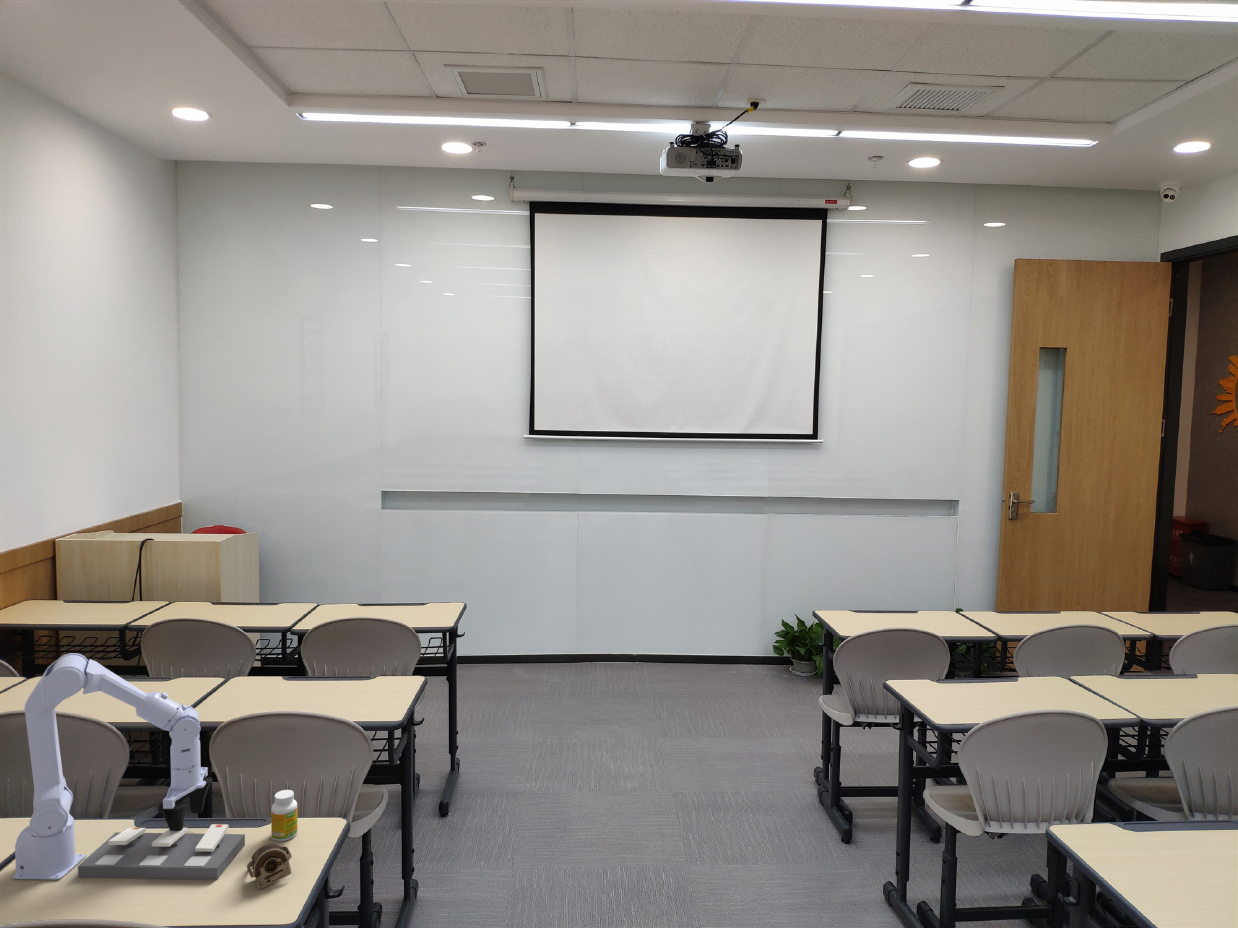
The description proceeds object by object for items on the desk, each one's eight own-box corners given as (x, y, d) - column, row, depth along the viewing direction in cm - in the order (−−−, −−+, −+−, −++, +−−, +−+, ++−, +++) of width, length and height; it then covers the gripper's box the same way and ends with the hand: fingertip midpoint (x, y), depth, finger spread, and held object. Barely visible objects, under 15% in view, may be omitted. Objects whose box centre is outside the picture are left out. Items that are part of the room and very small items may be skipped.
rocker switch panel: (78, 877, 154) (77, 863, 153) (115, 843, 165) (115, 829, 165) (217, 879, 154) (217, 864, 154) (244, 844, 166) (244, 831, 166)
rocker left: (108, 846, 158) (108, 840, 158) (128, 833, 165) (129, 827, 165) (125, 846, 158) (126, 840, 158) (145, 833, 165) (145, 827, 165)
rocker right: (195, 852, 159) (195, 847, 158) (212, 828, 165) (211, 823, 165) (213, 852, 159) (212, 847, 158) (229, 828, 165) (228, 824, 165)
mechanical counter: (230, 869, 149) (282, 854, 151) (247, 827, 162) (295, 814, 163) (240, 899, 151) (292, 884, 153) (256, 856, 163) (304, 842, 165)
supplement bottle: (287, 843, 167) (287, 801, 166) (266, 840, 168) (265, 798, 168) (302, 830, 173) (302, 789, 172) (281, 826, 174) (281, 786, 173)
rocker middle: (151, 848, 158) (151, 841, 158) (170, 832, 165) (170, 826, 165) (169, 848, 158) (169, 842, 158) (187, 833, 165) (187, 827, 165)
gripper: (186, 780, 160) (187, 841, 161) (220, 748, 174) (221, 805, 176) (152, 779, 160) (153, 840, 161) (189, 748, 174) (190, 804, 175)
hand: (186, 822), depth 168 cm, fingers open, 7 cm apart
